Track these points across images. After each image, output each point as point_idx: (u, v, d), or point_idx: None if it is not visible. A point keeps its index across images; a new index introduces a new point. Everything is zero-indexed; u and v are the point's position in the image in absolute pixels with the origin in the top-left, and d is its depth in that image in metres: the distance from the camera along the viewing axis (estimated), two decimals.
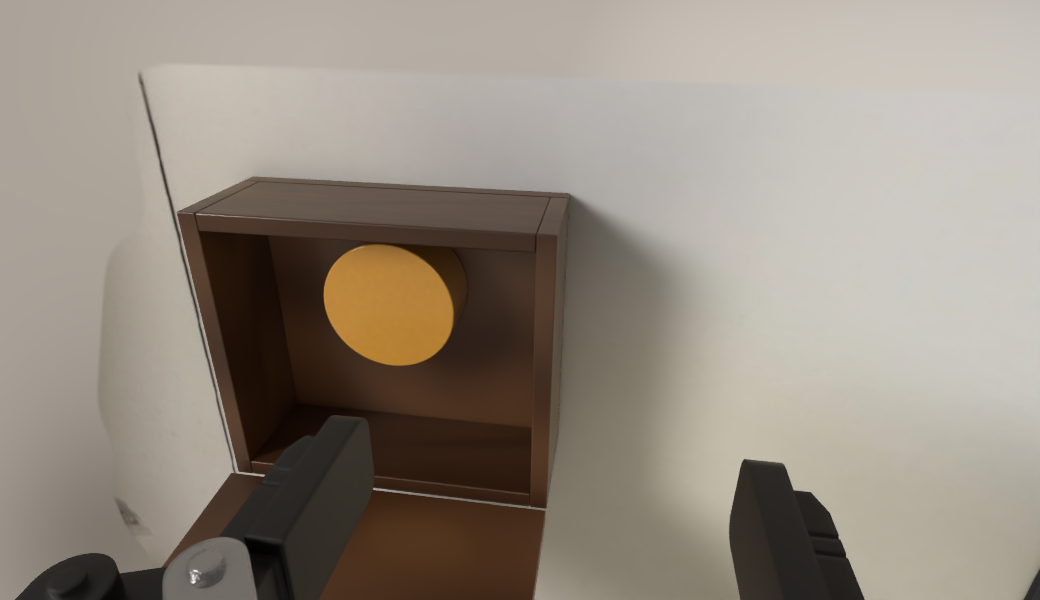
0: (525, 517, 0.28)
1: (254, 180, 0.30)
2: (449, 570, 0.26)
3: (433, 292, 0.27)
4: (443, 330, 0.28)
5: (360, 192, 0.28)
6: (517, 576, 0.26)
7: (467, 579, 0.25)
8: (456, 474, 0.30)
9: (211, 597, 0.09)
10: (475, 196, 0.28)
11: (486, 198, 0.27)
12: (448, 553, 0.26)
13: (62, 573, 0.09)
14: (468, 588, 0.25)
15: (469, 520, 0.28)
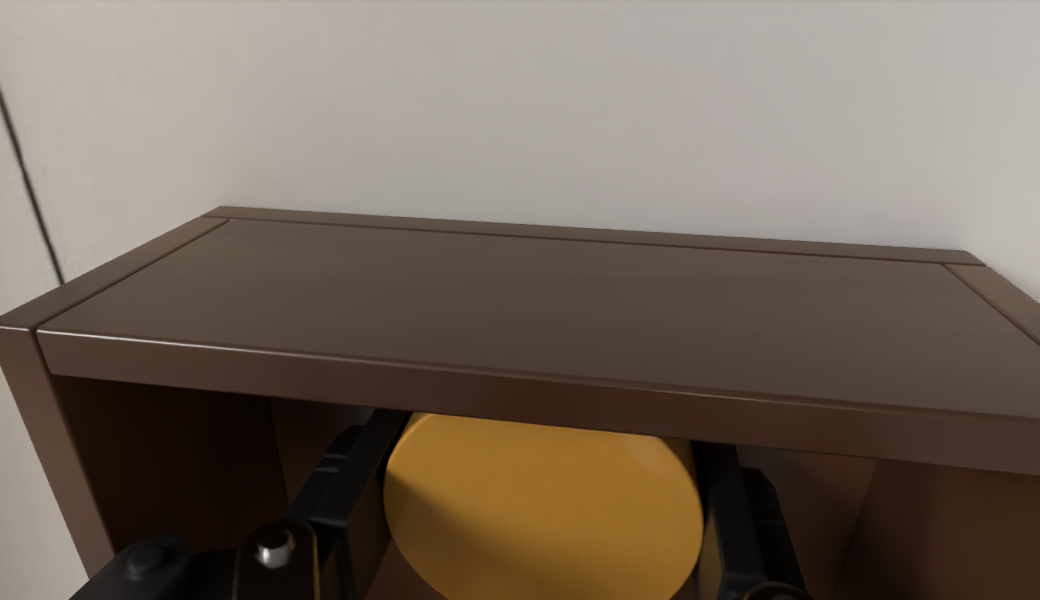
0: None
1: (222, 215, 0.13)
2: None
3: (660, 501, 0.11)
4: (668, 577, 0.12)
5: (472, 249, 0.12)
6: None
7: None
8: None
9: (277, 577, 0.09)
10: (760, 261, 0.11)
11: (795, 269, 0.11)
12: None
13: (142, 551, 0.09)
14: None
15: None
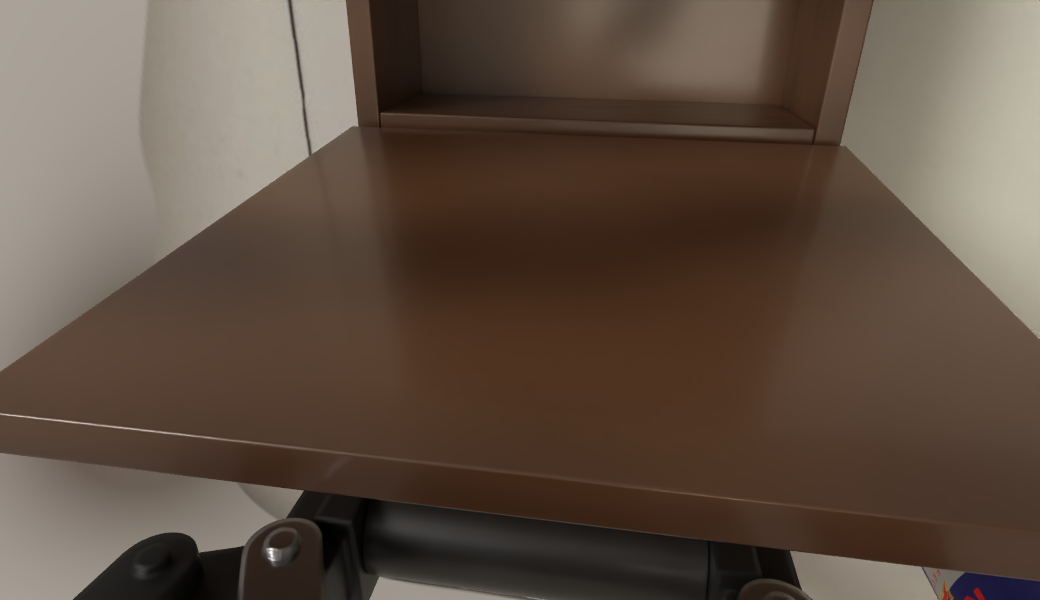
0: (820, 149, 0.18)
1: None
2: (741, 182, 0.16)
3: None
4: None
5: None
6: (856, 185, 0.16)
7: (776, 188, 0.16)
8: (690, 119, 0.20)
9: (282, 576, 0.09)
10: None
11: None
12: (726, 171, 0.17)
13: (149, 550, 0.10)
14: (786, 193, 0.15)
15: (736, 151, 0.18)
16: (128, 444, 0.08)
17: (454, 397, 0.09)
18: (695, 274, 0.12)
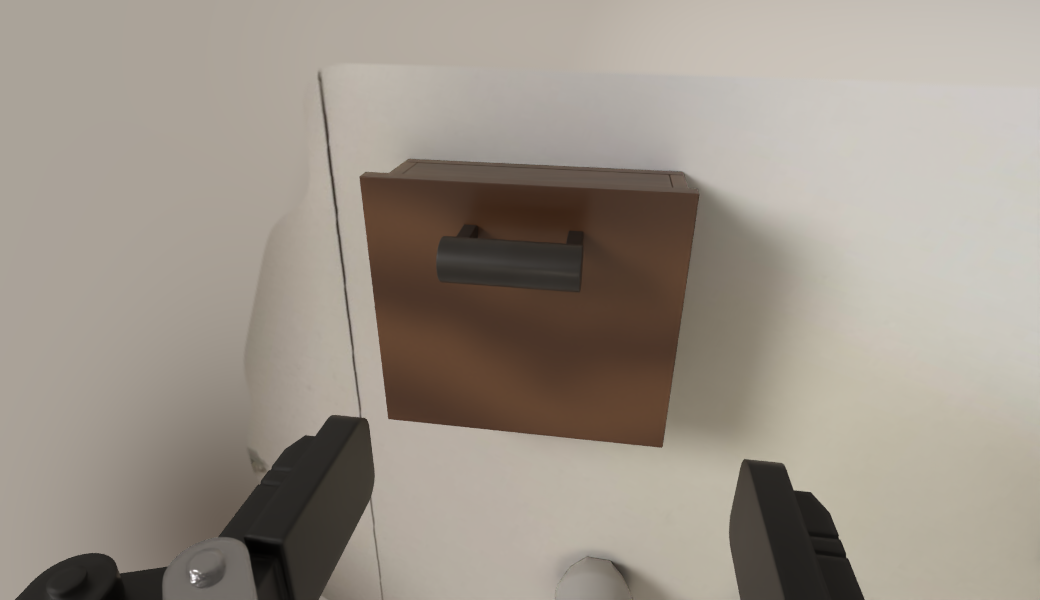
0: None
1: (413, 161, 0.35)
2: None
3: None
4: None
5: (509, 171, 0.33)
6: None
7: None
8: None
9: (211, 597, 0.09)
10: (607, 174, 0.33)
11: (617, 175, 0.33)
12: None
13: (62, 573, 0.09)
14: None
15: None
16: (416, 176, 0.29)
17: None
18: None
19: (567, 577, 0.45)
